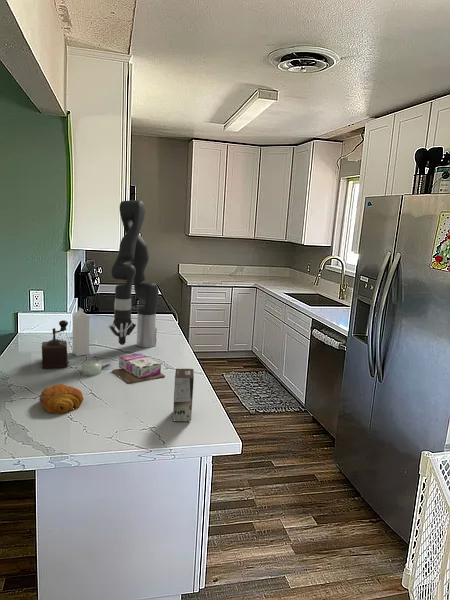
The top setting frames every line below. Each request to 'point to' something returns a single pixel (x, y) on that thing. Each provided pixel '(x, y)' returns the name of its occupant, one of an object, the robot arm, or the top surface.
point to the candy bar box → (140, 365)
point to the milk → (80, 333)
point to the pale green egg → (91, 368)
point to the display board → (132, 378)
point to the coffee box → (183, 394)
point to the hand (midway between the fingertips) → (121, 344)
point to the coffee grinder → (55, 351)
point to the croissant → (61, 398)
